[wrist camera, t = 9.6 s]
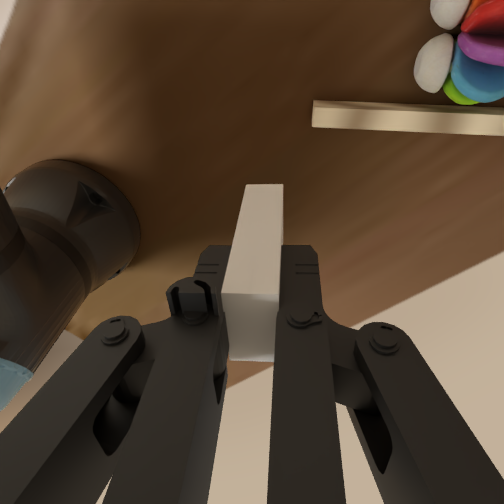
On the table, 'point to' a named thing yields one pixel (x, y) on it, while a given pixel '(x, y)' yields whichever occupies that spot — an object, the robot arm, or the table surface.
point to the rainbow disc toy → (465, 52)
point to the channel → (408, 117)
